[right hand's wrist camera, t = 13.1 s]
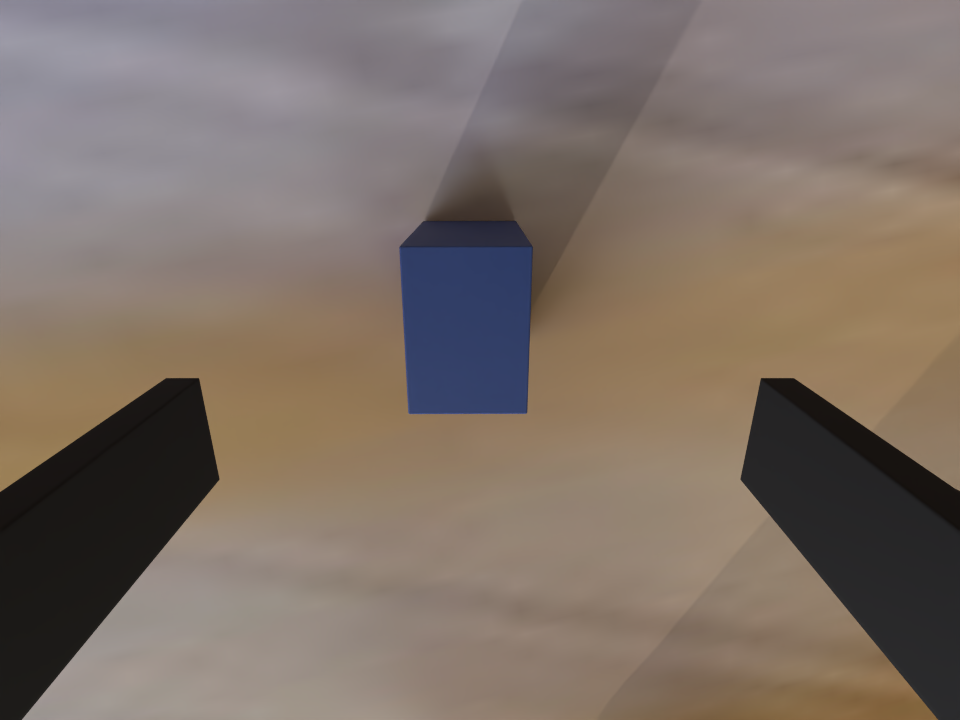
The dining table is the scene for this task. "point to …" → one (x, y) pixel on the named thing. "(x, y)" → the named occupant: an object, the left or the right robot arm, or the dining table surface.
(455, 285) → the block
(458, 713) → the dining table surface
